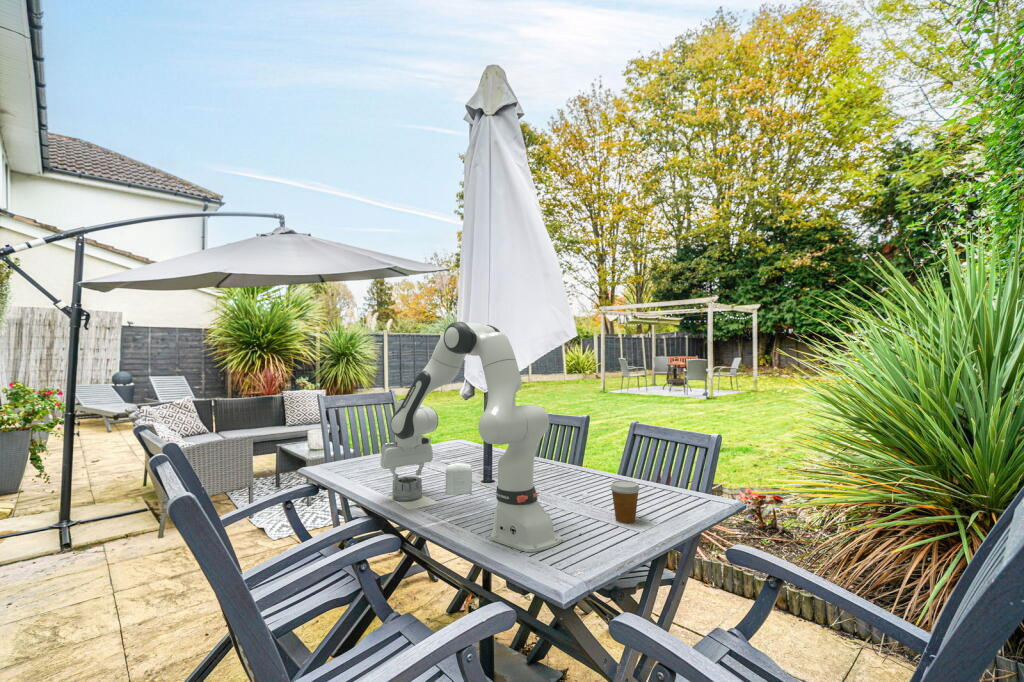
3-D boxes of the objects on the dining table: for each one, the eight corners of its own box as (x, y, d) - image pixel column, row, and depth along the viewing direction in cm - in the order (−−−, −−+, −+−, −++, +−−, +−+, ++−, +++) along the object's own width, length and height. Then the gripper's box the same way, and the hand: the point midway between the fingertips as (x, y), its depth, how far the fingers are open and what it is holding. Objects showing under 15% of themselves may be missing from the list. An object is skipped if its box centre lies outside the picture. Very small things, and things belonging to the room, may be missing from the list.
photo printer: (471, 492, 192) (471, 461, 193) (472, 496, 188) (472, 464, 188) (445, 494, 191) (445, 462, 191) (445, 497, 187) (445, 465, 187)
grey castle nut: (427, 497, 183) (427, 480, 183) (400, 503, 176) (400, 485, 176) (414, 491, 191) (414, 474, 192) (387, 496, 185) (387, 479, 185)
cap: (416, 487, 183) (416, 477, 183) (404, 489, 180) (404, 479, 180) (410, 484, 187) (410, 475, 187) (398, 486, 184) (398, 477, 184)
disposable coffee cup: (608, 515, 165) (608, 479, 165) (637, 515, 164) (636, 479, 165) (612, 525, 156) (612, 487, 156) (643, 525, 155) (642, 487, 155)
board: (438, 505, 177) (438, 502, 177) (408, 512, 169) (408, 509, 169) (415, 493, 192) (415, 491, 192) (386, 499, 184) (386, 497, 184)
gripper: (384, 445, 175) (384, 483, 175) (434, 438, 188) (434, 474, 188) (377, 442, 180) (377, 480, 180) (426, 436, 193) (427, 471, 193)
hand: (407, 477), depth 184 cm, fingers open, 8 cm apart
